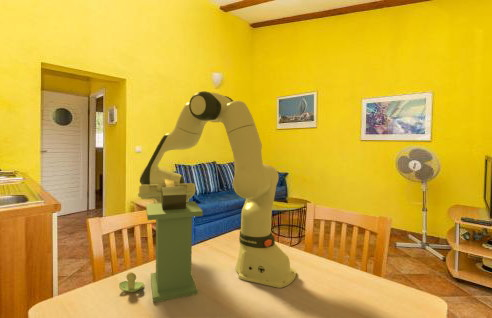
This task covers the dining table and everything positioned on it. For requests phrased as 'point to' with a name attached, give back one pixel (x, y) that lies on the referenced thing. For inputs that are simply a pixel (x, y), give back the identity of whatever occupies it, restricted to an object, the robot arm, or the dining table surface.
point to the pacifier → (131, 283)
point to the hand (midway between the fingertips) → (169, 183)
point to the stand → (173, 251)
